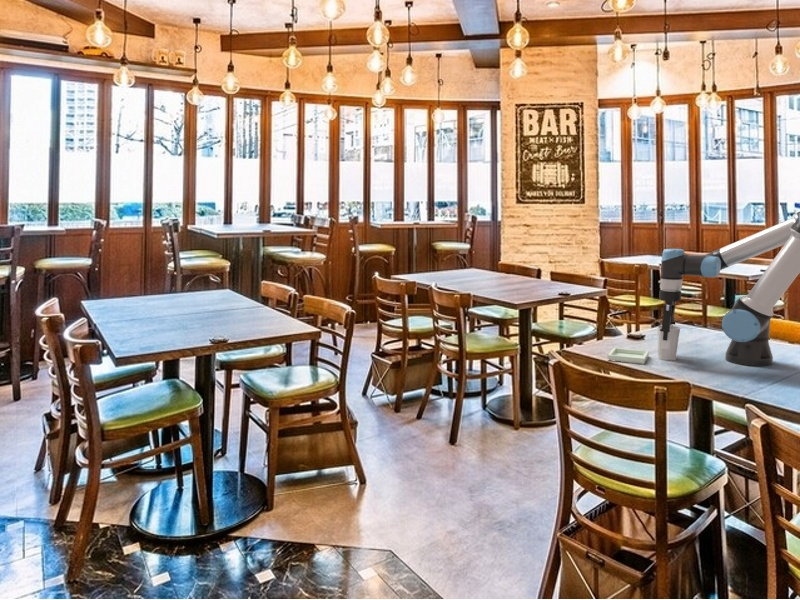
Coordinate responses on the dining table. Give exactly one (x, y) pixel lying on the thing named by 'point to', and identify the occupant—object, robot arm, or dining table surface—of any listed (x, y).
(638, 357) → the tray
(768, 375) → the dining table surface
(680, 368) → the dining table surface
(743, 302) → the robot arm
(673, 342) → the cup
